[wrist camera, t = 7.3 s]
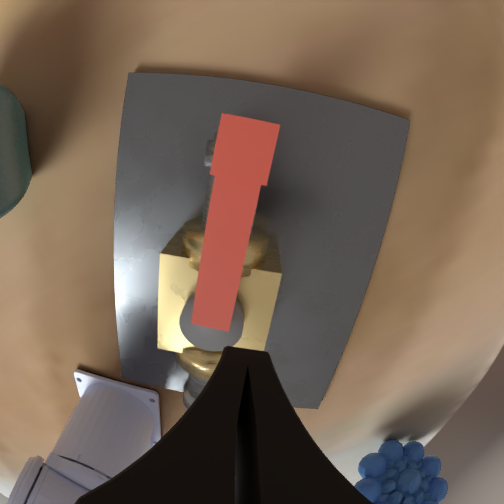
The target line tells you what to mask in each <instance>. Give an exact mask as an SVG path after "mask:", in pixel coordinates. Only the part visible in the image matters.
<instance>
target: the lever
mask: <svg viewBox="0 0 504 504" xmlns="http://www.w3.org/2000/svg"><path fill="white" fill-rule="evenodd" d="M279 129H280V125H279V124H275V123H270V122H265V121H261V120H256V119H251V118H246V117H241V116H235V115H230V114H224V113H222V115H221V120H220V124H219V129H218V134H217V139H216V144H215V149H214V154H213V159H212V165H211V170H210V175H215V178H214V184H213V189H212V194H211V200H210V206H209V211H208V217H207V223H206V229H205V234H204V240H203V247H202V253H201V259H200V265H199V272H198V278H197V285H196V292H195V293H194V294H192V295H191V296H190V297H189V298H188V299H187V301H186V303H185V305H184V307H183V310H182V312H181V315H180V319H179V325H180V329H181V332H182V334H183V335H184V337H185V338H186V339H187V340H188V341H189V342H190V343H191V344H193V345H194V346H196V347H198V348H200V349H203V350H207V351H222V350H223V348H224V347H226V346H234V345H235V344H236V343H237V342H238V341H239V340H240V338H241V336H242V333H243V325H244V311H243V308H242V306H241V304H240V303H239V302H238V300H237V299H236V297H237V292H238V287H239V283H240V278H241V274H242V269H243V265H244V260H245V256H246V251H247V247H248V242H249V237H250V233H251V228H252V224H253V219H254V215H255V210H256V206H257V201H258V197H259V192H260V188H261V185H264V186H267V181H268V177H269V173H270V168H271V164H272V159H273V155H274V151H275V146H276V142H277V137H278V133H279Z"/></svg>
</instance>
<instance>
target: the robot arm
mask: <svg viewBox="0 0 504 504" xmlns="http://www.w3.org/2000/svg"><path fill="white" fill-rule="evenodd" d="M74 377H75V381H76V384H77V388H78V391H79V395H80V400H79V402H78V404H77V405H76V407H75V409H74V411H73V413H72V415H71V416H70V418H69V420H68V422H67V424H66V426H65V428H64V429H63V431H62V433H61V435H60V437H59V439H58V441H57V443H56V445H55V447H54V449H53V451H52V452H51V453H50V454H49V456H48V458H47V460H46V462H45V463H43V461H44V459H43V458H42V457H40V456H37V457H30V458H29V459H28V461H27V463H26V464H25V466H24V468H23V470H22V472H21V473H20V475H19V477H18V479H17V481H16V483H15V486H14V488H13V490H12V492H11V494H10V497H9V499H8V502H7V504H373V503H372V502H371V501H370V500H368V499H367V498H366V497H365V496H364V495H363V494H361V493H360V492H359V491H358V490H357V489H356V488H355V487H354V486H353V485H352V484H351V483H350V482H349V481H348V480H347V479H346V478H345V477H344V476H343V475H342V474H341V473H340V472H339V471H338V470H337V469H336V468H335V467H334V465H333V464H332V463H331V462H330V461H329V460H328V458H327V457H326V456H325V455H324V453H323V452H322V451H321V450H320V448H319V447H318V446H317V444H316V443H315V442H314V440H313V439H312V437H311V436H310V435H309V433H308V431H307V430H306V428H305V427H304V425H303V424H302V422H301V420H300V419H299V417H298V415H297V414H296V412H295V410H294V408H293V407H292V405H291V403H290V401H289V399H288V397H287V395H286V393H285V391H284V389H283V387H282V385H281V382H280V380H279V378H278V375H277V373H276V371H275V368H274V365H273V363H272V360H271V357H270V354H269V353H268V352H266V351H259V350H252V349H246V348H239V347H233V346H226V347H224V348H223V352H222V355H221V358H220V360H219V362H218V364H217V366H216V368H215V370H214V372H213V374H212V376H211V377H210V379H209V380H208V382H207V384H206V385H205V387H204V388H203V390H202V391H201V393H200V394H199V395H198V397H197V398H196V399H195V401H194V402H193V403H192V405H191V406H190V407H189V409H188V410H187V411H186V412H185V414H184V415H183V416H182V417H181V418H180V419H179V421H178V422H177V423H176V424H175V425H174V426H173V427H172V428H171V429H170V430H169V431H168V432H167V433H166V434H165V435H164V436H163V437H162V438H161V426H160V409H159V394H158V393H157V392H156V391H154V390H150V389H146V388H142V387H138V386H134V385H130V384H126V383H122V382H119V381H115V380H112V379H108V378H105V377H101V376H98V375H95V374H91V373H88V372H85V371H82V370H79V369H76V370H75V372H74Z"/></svg>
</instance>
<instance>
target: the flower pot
mask: <svg viewBox="0 0 504 504" xmlns="http://www.w3.org/2000/svg"><path fill="white" fill-rule="evenodd" d="M31 177H32V170H31V163H30V157H29V150H28V143H27V132H26V120H25V112H24V110H23V108H22V106H21V104H20V103H19V101H18V100H17V98H16V97H15V96H14V94H13V93H12V92H11V91H9V90H8V89H7V88H6V87H4V86H3V85H1V84H0V218H1V217H3V216H4V215H6V214H7V213H8V212H10V211H11V210H12V209H13V208H14V207H15V206H16V205H17V204H18V203H19V202H20V200H21V199H22V198H23V196H24V194H25V193H26V191H27V189H28V186H29V184H30V180H31Z"/></svg>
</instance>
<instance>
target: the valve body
mask: <svg viewBox="0 0 504 504" xmlns="http://www.w3.org/2000/svg"><path fill="white" fill-rule="evenodd" d="M222 113H224V114H230V115H235V116H241V117H246V118H251V119H256V120H261V121H265V122H270V123H275V124H279V125H280V129H279V133H278V137H277V142H276V146H275V151H274V155H273V159H272V164H271V168H270V173H269V177H268V181H267V186H264V185H261V188H260V192H259V197H258V201H257V206H256V210H255V215H254V219H253V224H252V228H251V233H250V237H249V242H248V247H247V251H246V256H245V260H244V265H243V269H242V274H241V278H240V283H239V287H238V292H237V297H236V299H237V300H238V302H239V303H240V304H241V306H242V308H243V311H244V325H243V333H242V336H241V338H240V340H239V341H238V342H237V343H236V344H235V345H234V346H233V347H239V348H246V349H252V350H259V351H266V352H268V353H269V354H270V357H271V360H272V363H273V365H274V368H275V371H276V373H277V375H278V378H279V380H280V382H281V385H282V387H283V389H284V391H285V393H286V395H287V397H288V399H289V401H290V403H291V405H292V407H296V408H311V409H318V407H319V405H320V403H321V401H322V399H323V397H324V394H325V392H326V390H327V388H328V386H329V383H330V381H331V379H332V376H333V374H334V372H335V370H336V367H337V365H338V362H339V360H340V358H341V355H342V353H343V350H344V348H345V345H346V343H347V340H348V338H349V335H350V333H351V330H352V328H353V325H354V322H355V320H356V317H357V314H358V311H359V309H360V306H361V303H362V300H363V297H364V295H365V292H366V289H367V286H368V283H369V280H370V277H371V274H372V271H373V268H374V265H375V261H376V258H377V255H378V252H379V249H380V245H381V242H382V238H383V235H384V232H385V228H386V224H387V221H388V217H389V213H390V210H391V206H392V202H393V198H394V194H395V190H396V186H397V182H398V178H399V173H400V169H401V164H402V160H403V155H404V150H405V145H406V140H407V135H408V130H409V124H410V120H407V119H404V118H401V117H398V116H395V115H392V114H389V113H386V112H383V111H380V110H377V109H373V108H370V107H366V106H363V105H359V104H356V103H352V102H349V101H345V100H341V99H337V98H333V97H329V96H325V95H320V94H316V93H312V92H307V91H302V90H297V89H292V88H287V87H282V86H276V85H270V84H264V83H258V82H252V81H245V80H237V79H229V78H220V77H211V76H200V75H186V74H169V73H129V74H128V80H127V86H126V92H125V99H124V106H123V113H122V121H121V129H120V138H119V148H118V159H117V171H116V187H115V208H114V282H115V304H116V319H117V332H118V343H119V353H120V362H121V370H122V378H125V379H128V380H132V381H136V382H140V383H144V384H148V385H153V386H157V387H161V388H166V389H171V390H175V391H180V392H183V402H184V405H185V406H186V408H187V409H189V407H190V406H191V405H192V403H193V402H194V401H195V399H196V398H197V397H198V395H199V394H200V393H201V391H202V390H203V388H204V387H205V385H206V384H207V382H208V380H209V379H210V377H211V376H212V374H213V372H214V370H215V368H216V366H217V364H218V362H219V360H220V358H221V355H222V352H223V350H222V351H207V350H203V349H200V348H198V347H196V346H194V345H193V344H191V343H190V342H189V341H188V340H187V339H186V338H185V337H184V335H183V334H182V332H181V329H180V325H179V319H180V315H181V312H182V310H183V307H184V305H185V303H186V301H187V299H188V298H189V297H190V296H191V295H192V294H194V293H195V292H196V285H197V278H198V272H199V265H200V259H201V253H202V247H203V240H204V234H205V229H206V223H207V217H208V211H209V206H210V200H211V194H212V189H213V184H214V178H215V175H210V170H211V165H212V159H213V154H214V149H215V144H216V139H217V134H218V129H219V124H220V120H221V115H222Z"/></svg>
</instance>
